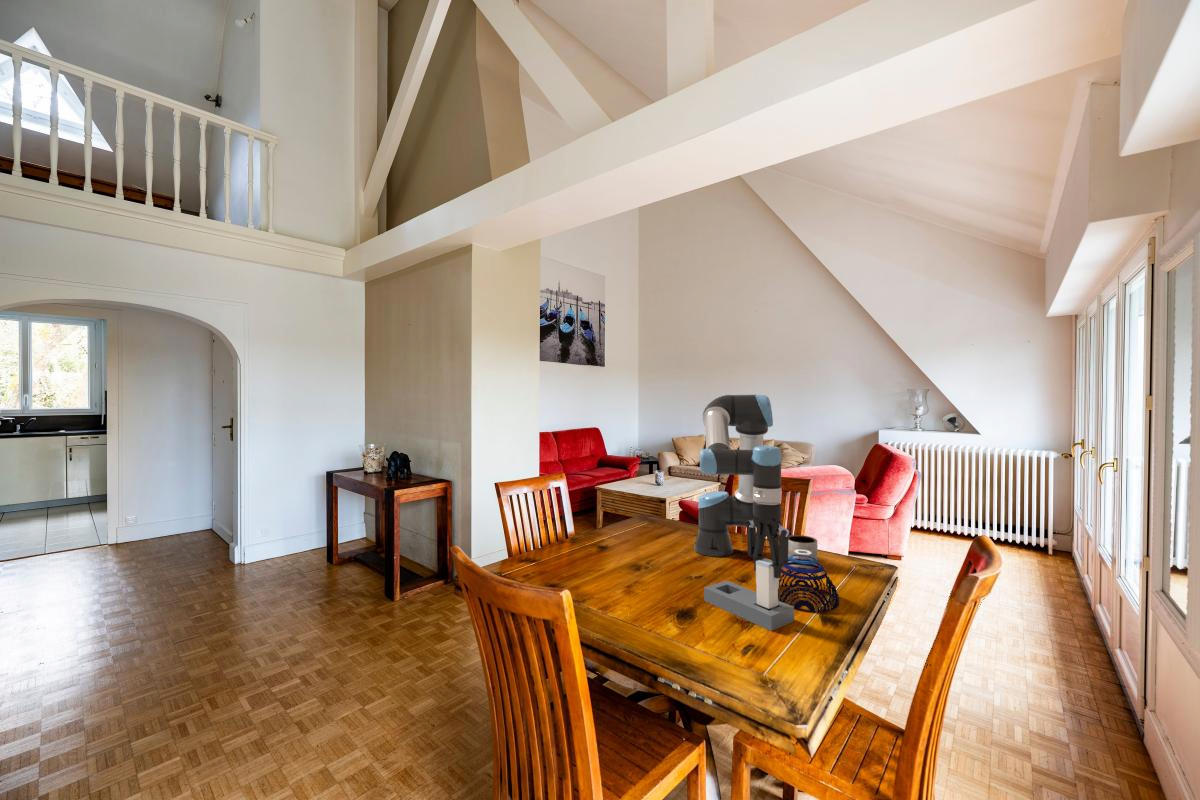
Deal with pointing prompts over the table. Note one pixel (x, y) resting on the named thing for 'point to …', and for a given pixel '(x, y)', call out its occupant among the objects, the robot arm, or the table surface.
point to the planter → (802, 548)
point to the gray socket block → (748, 605)
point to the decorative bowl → (814, 578)
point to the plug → (765, 585)
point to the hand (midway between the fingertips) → (767, 586)
